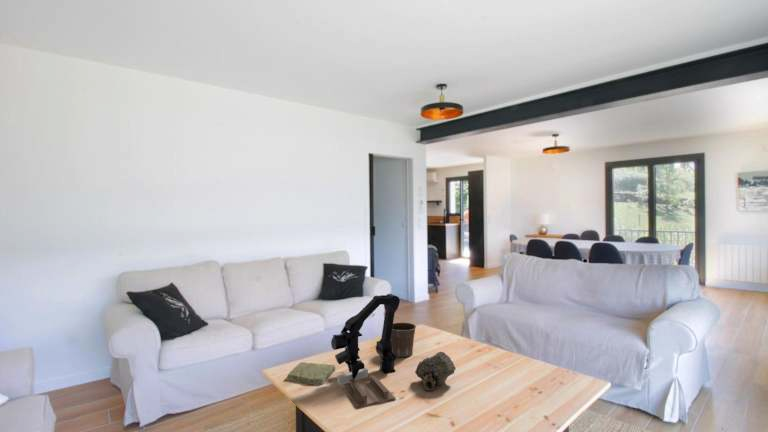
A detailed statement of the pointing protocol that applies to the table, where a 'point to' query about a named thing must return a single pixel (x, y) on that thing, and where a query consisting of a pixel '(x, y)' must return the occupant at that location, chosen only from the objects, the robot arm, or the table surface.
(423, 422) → the table surface
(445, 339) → the table surface
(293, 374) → the decorative tile
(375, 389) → the walnut rack
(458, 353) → the table surface
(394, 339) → the plant pot
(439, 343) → the table surface
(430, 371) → the rock
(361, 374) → the light gray rectangular bar
